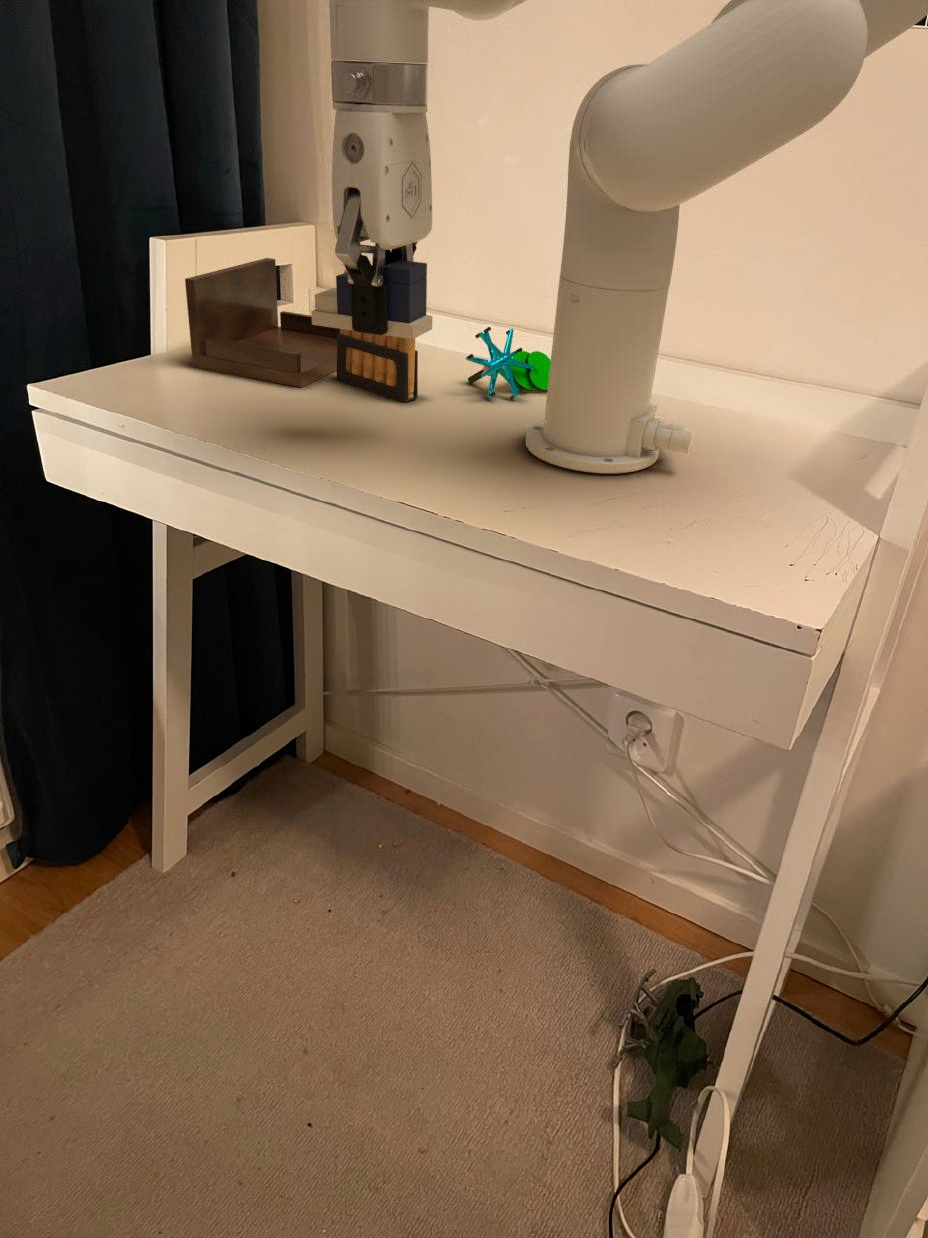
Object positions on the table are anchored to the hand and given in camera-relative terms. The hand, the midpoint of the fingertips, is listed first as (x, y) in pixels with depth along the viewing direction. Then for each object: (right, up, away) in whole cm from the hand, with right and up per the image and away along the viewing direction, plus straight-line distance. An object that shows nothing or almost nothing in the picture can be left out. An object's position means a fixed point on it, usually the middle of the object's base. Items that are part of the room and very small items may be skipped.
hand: (382, 324), depth 82 cm
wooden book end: (-14, +4, +26) cm, 30 cm away
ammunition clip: (-2, -1, +19) cm, 19 cm away
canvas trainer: (-1, 0, +1) cm, 1 cm away
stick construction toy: (+12, 0, +22) cm, 25 cm away
